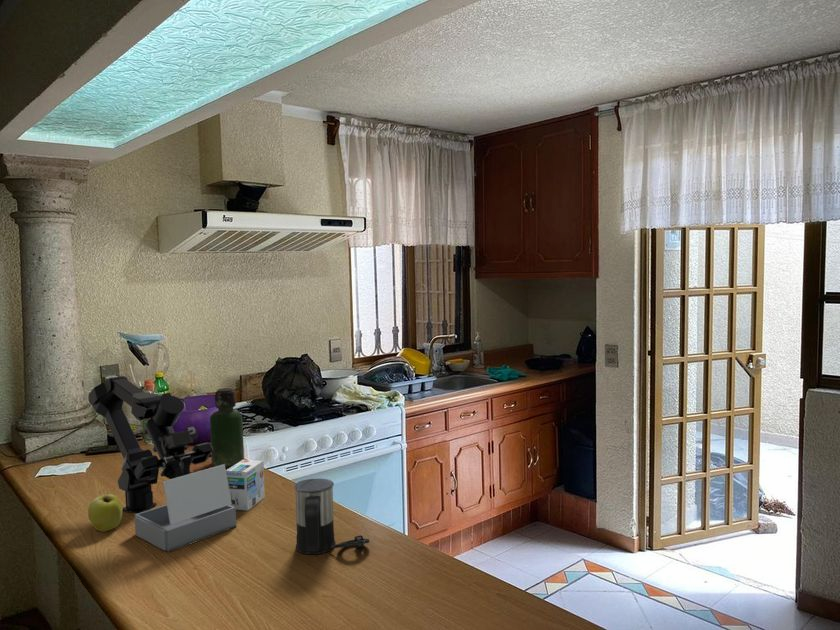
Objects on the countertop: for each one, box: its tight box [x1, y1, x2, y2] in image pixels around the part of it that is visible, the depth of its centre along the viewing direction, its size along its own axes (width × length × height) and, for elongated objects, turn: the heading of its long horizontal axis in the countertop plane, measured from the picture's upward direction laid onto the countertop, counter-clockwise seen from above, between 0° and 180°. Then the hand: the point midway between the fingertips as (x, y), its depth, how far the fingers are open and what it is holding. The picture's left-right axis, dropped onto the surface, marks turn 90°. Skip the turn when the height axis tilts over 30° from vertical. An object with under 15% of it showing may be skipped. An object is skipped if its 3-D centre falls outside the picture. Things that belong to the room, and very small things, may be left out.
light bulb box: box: [226, 459, 266, 511], centre depth 175 cm, size 11×7×11 cm, turn 168°
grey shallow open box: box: [134, 504, 237, 553], centre depth 157 cm, size 16×19×5 cm
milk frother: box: [293, 477, 370, 555], centre depth 145 cm, size 14×16×15 cm
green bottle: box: [209, 387, 245, 468], centre depth 211 cm, size 10×10×25 cm
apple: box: [87, 491, 124, 533], centre depth 158 cm, size 8×8×10 cm
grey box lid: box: [162, 464, 232, 525], centre depth 152 cm, size 1×16×10 cm, turn 141°
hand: (188, 488), depth 155 cm, fingers closed
